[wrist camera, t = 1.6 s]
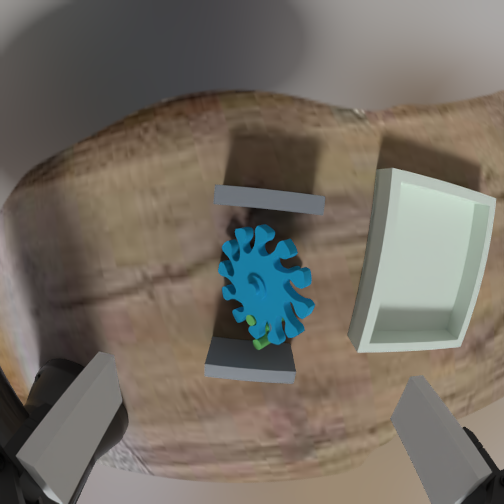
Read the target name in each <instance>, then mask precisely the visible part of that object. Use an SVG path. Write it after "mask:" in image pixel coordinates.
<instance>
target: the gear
mask: <svg viewBox="0 0 504 504" xmlns="http://www.w3.org/2000/svg"><path fill="white" fill-rule="evenodd" d="M235 235H236V238H237V240H238V242H237V240H236V239H234V240H230V241H226V242H225V243H224V244H223V246H222V249H223V251H224V253H225V254H226V255H227V256H228V257H229V259H230V261H231V262H230V261H229V260H226V261H222V262H220V264H219V269H218V272H219V274H220V275H222V276H225V277H226V278H228V279H229V280H230V281H231V282H232V284H233V285H234V286H235V287H234V286H233V285H232V284H230V285H227V286H224V287H222V292H223V297H224V299H225V300H230V299H236V300H238V301H239V302H241V303H242V305H243V307H239V308H237V309H234V310H233V311H232V313H233V316H234V318H235V320H236V321H237V323H240V322H242V321H244V320H246V321H247V323H248V324H249V325H250V327H249V329H248V330H249V333H250V334H251V335H252V336H253V337H254V338H255V339H254V340H253V345H254V347H255V348H256V349H257V350H260V349H262V348H264V347H265V346H267V345H269V344H270V343H273V344H276V345H279V344H281V343H282V342H284V341H285V340H286V336H285V333H286V335H287V337H288V338H293V337H295V336H297V335H299V334H300V333H302V332H303V331H305V329H304V326H303V324H302V323H301V322H300V321H299V320H298V319H297V318H296V316H295V315H294V313H293V310H292V308H291V304H290V302H291V303H292V304H293V306H294V309H295V312H296V314H297V316H298V317H299V318H301V319H303V318H305V317H307V316H308V315H310V314H311V313H312V311H313V309H314V306H315V304H314V302H313V301H312V300H311V299H308V298H305V297H302V296H301V295H299V294H298V293H297V292H296V291H295V290H294V289H293V287H292V286H291V285H290V280H291V281H292V282H293V284H294V285H295V286H296V287H298V288H301V289H302V288H305V287H307V286H309V285H310V284H311V271H310V269H309V268H307V267H304V268H300V267H299V266H294V267H291V268H289V269H287V268H285V267H283V266H282V265H281V262H280V258H282V259H288V258H291V257H294V256H295V255H296V254H297V253H298V252H297V249H296V246H295V245H294V243H293V241H292V240H291V239H287V240H283V241H280V242H279V243H278V244H277V247H276V249H275V251H274V252H273V253H272V254H269V253H267V251H266V249H265V244H266V242H268V241H270V240H272V239H273V238H274V237H275V231H274V230H273V229H272V228H271V227H269V226H268V225H266V224H264V225H259V226H257V227H256V229H255V244H254V247H253V249H251V247H250V241H251V239H252V238H253V229H252V228H251V227H243V228H239V229H235ZM238 243H239V244H238ZM239 248H240V256H239ZM284 320H285V333H284V331H283V328H282V321H284Z"/></svg>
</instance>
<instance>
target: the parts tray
mask: <svg viewBox="0 0 504 504" xmlns="http://www.w3.org/2000/svg"><path fill="white" fill-rule="evenodd" d="M495 204H496V198H493V197H490V196H488V195H485V194H482V193H479V192H476V191H473V190H470V189H467V188H464V187H461V186H458V185H455V184H451V183H448V182H445V181H441V180H438V179H434V178H431V177H427V176H423V175H420V174H416V173H412V172H408V171H404V170H400V169H396V168H386V169H376V179H375V189H374V198H373V206H372V213H371V221H370V227H369V234H368V240H367V246H366V252H365V258H364V263H363V269H362V274H361V279H360V284H359V289H358V293H357V298H356V302H355V307H354V311H353V315H352V319H351V323H350V327H349V331H348V337H349V339H350V340H351V342H352V344H353V346H354V347H355V349H356V351H357V352H397V351H417V350H432V349H444V348H454V347H460V346H461V344H462V341H463V339H464V336H465V333H466V330H467V328H468V325H469V322H470V319H471V316H472V313H473V310H474V306H475V303H476V300H477V296H478V293H479V289H480V286H481V282H482V278H483V274H484V269H485V265H486V261H487V256H488V251H489V246H490V240H491V234H492V228H493V221H494V213H495Z"/></svg>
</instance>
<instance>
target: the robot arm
mask: <svg viewBox="0 0 504 504" xmlns="http://www.w3.org/2000/svg"><path fill="white" fill-rule="evenodd" d="M390 419H391V421H392V423H393V425H394V427H395V429H396V431H397V433H398V435H399V437H400V439H401V441H402V443H403V445H404V447H405V449H406V451H407V453H408V455H409V457H410V459H411V461H412V463H413V465H414V467H415V469H416V471H417V474H418V476H419V478H420V480H421V482H422V484H423V486H424V489H425V491H426V493H427V495H428V497H429V499H430V502H431V504H504V469H503V470H501V471H500V470H499V469H498V468H497V466H496V464H495V463H494V462H493V460H492V459H491V458H490V456H489V454H488V453H487V451H486V450H485V449H484V448H483V446H482V444H481V443H480V442H478V441H479V440H478V439H477V437H476V436H475V435H474V434H473V432H471V431H470V430H469V429H467V428H466V427H463V428H462V427H461V426H460V424H459V423H458V422H457V420H456V419H455V417H454V416H453V415H452V413H451V412H450V411H449V409H448V408H447V406H446V405H445V404H444V402H443V401H442V400H441V399H440V397H439V396H438V395H437V393H436V392H435V391H434V389H433V388H432V387H431V385H430V384H429V383H428V382H427V380H426V379H425V378H424V376H423V375H422V376H413V377H410V378H409V381H408V383H407V385H406V387H405V390H404V392H403V394H402V396H401V398H400V400H399V402H398V404H397V406H396V408H395V410H394V412H393V414H392V416H391V418H390ZM127 427H128V416H127V413H126V410H125V408H124V406H123V404H122V396H121V391H120V386H119V381H118V376H117V370H116V364H115V358H114V355H112V354H108V353H104V352H100V351H99V352H98V353H97V354H96V355H95V357H94V358H93V359H92V360H91V361H90V362H89V364H88V365H87V366H86V367H85V368H84V367H82V366H80V365H78V364H76V363H74V362H71V361H68V360H63V359H54V360H50V361H49V362H47V363H46V364H45V365H44V366H43V367H42V368H41V369H40V370H39V371H38V373H37V375H36V377H35V381H34V383H33V385H32V388H31V390H30V393H29V396H28V399H27V402H26V404H25V405H24V406H23V404H22V402H21V401H20V399H19V398H18V396H17V395H16V393H15V391H14V390H13V388H12V386H11V385H10V383H9V381H8V379H7V378H6V376H5V374H4V372H3V370H2V369H1V367H0V504H76V502H77V501H78V498H79V496H80V494H81V492H82V489H83V487H84V485H85V483H86V481H87V478H88V476H89V474H90V472H91V470H92V468H93V466H94V464H95V462H96V461H97V460H98V459H99V458H100V457H101V456H103V455H104V454H105V453H106V452H108V451H109V450H110V449H111V448H112V447H113V446H115V445H116V444H117V443H118V442H120V440H121V439H122V438H123V436H124V433H125V431H126V429H127Z"/></svg>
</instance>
